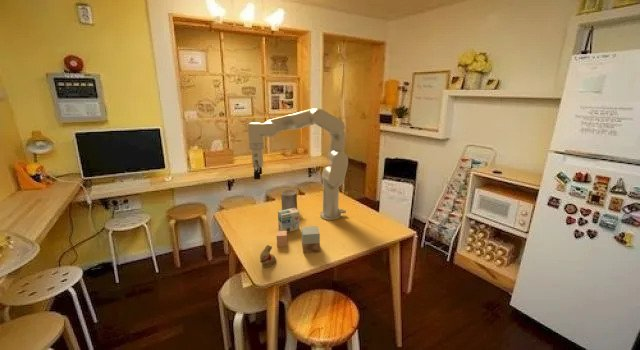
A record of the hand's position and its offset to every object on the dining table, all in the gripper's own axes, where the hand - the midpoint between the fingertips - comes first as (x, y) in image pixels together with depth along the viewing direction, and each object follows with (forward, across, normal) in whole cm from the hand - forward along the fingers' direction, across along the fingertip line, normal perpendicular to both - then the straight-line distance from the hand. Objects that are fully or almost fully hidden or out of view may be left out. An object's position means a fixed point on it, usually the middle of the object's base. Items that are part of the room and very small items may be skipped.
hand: (258, 176), depth 158 cm
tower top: (+24, -29, -27) cm, 46 cm away
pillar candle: (+29, +15, -16) cm, 37 cm away
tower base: (+29, -29, -27) cm, 49 cm away
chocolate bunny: (+29, -40, -7) cm, 50 cm away
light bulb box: (+29, -7, -16) cm, 34 cm away
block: (+29, -23, -13) cm, 39 cm away
